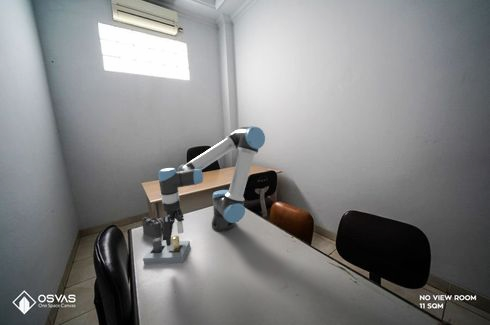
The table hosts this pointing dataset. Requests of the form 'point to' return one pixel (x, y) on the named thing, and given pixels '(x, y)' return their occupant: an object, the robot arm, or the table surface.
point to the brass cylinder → (176, 244)
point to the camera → (153, 226)
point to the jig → (165, 253)
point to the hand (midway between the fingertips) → (176, 240)
